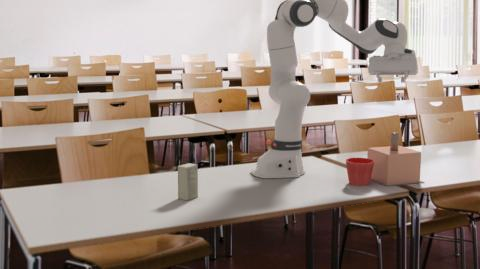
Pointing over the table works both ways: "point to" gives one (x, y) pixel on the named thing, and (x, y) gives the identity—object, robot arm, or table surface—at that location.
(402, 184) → the mat
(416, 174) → the box with top peg
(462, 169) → the table surface
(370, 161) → the flower pot
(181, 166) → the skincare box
